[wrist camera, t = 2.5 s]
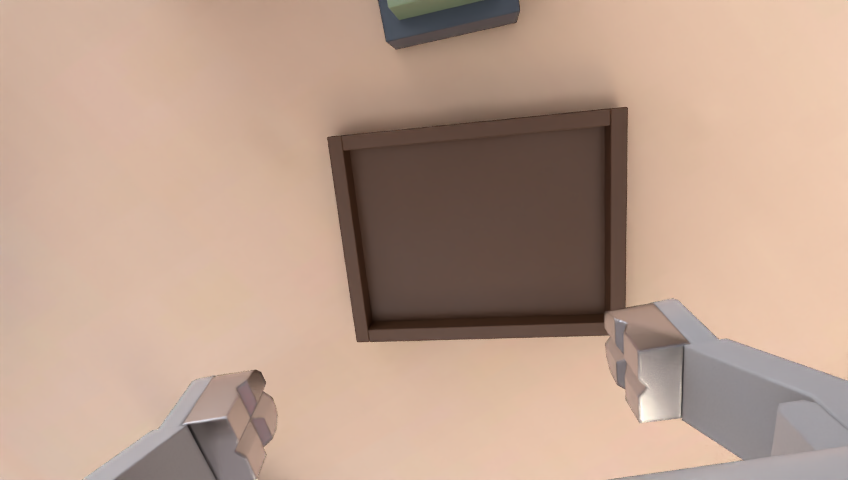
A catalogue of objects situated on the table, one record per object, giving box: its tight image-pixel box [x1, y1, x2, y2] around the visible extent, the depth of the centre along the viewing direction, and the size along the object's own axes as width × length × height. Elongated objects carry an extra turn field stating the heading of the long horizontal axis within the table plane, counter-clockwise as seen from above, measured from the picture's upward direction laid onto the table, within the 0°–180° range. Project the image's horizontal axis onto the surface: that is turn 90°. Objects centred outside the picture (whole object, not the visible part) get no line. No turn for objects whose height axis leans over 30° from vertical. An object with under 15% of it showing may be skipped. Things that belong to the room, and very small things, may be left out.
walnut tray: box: [327, 107, 628, 342], centre depth 31 cm, size 19×15×2 cm
